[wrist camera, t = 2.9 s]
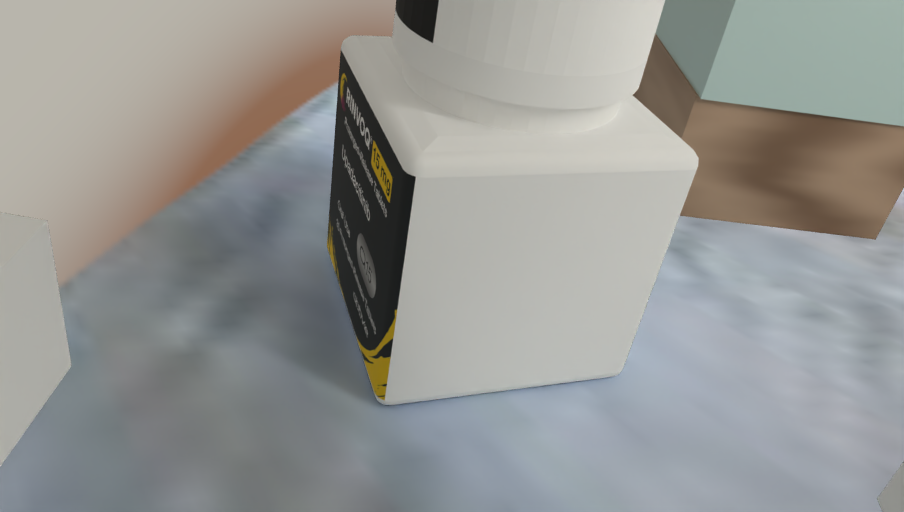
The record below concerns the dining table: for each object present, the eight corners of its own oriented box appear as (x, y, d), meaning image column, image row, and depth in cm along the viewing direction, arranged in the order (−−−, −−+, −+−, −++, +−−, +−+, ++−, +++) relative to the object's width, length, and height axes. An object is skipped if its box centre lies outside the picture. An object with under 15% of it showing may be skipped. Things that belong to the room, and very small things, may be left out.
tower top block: (834, 42, 36) (884, -73, 33) (939, 131, 28) (1016, -9, 25) (642, 15, 35) (678, -107, 32) (700, 98, 27) (753, -50, 25)
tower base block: (789, 140, 39) (832, 42, 36) (873, 243, 31) (935, 129, 28) (611, 116, 38) (641, 13, 35) (654, 216, 30) (696, 96, 27)
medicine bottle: (323, 249, 25) (352, -175, 18) (528, 237, 27) (620, -142, 21) (376, 413, 20) (445, -101, 13) (624, 380, 22) (793, -68, 15)
